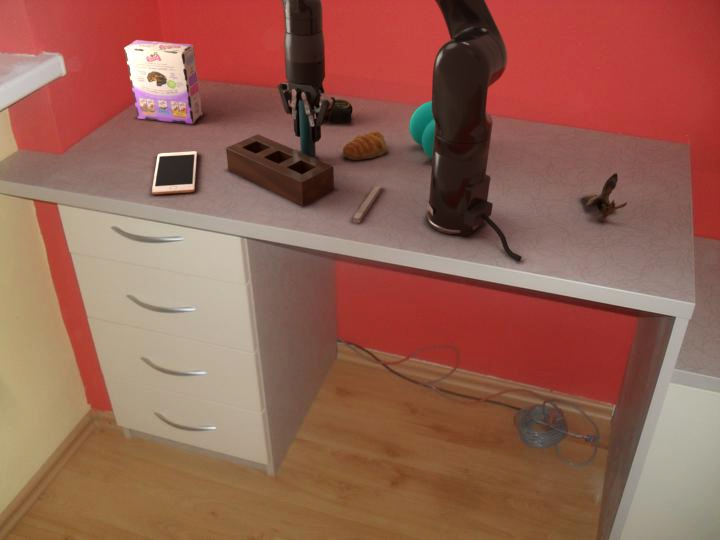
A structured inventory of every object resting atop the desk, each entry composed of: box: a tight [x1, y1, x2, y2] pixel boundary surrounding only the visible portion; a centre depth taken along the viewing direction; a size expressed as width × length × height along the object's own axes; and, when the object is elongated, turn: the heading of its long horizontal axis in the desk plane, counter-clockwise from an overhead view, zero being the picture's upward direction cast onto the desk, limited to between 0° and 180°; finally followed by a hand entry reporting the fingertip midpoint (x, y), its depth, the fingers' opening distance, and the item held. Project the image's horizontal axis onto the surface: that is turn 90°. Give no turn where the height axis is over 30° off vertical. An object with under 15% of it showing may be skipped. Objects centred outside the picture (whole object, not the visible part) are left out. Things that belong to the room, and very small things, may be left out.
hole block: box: [225, 133, 335, 207], centre depth 136 cm, size 8×21×5 cm, turn 49°
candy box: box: [123, 39, 203, 125], centre depth 156 cm, size 14×6×16 cm, turn 77°
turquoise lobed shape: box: [408, 100, 435, 160], centre depth 144 cm, size 10×10×10 cm
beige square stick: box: [352, 184, 382, 224], centre depth 129 cm, size 12×1×1 cm, turn 160°
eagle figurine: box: [580, 172, 628, 222], centre depth 127 cm, size 8×7×9 cm
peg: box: [299, 100, 317, 159], centre depth 141 cm, size 3×3×13 cm
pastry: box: [342, 130, 389, 161], centre depth 146 cm, size 9×7×4 cm
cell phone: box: [151, 150, 198, 195], centre depth 138 cm, size 8×16×1 cm, turn 9°
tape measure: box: [328, 98, 353, 124], centre depth 159 cm, size 7×7×4 cm
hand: (307, 138), depth 142 cm, fingers open, 3 cm apart
